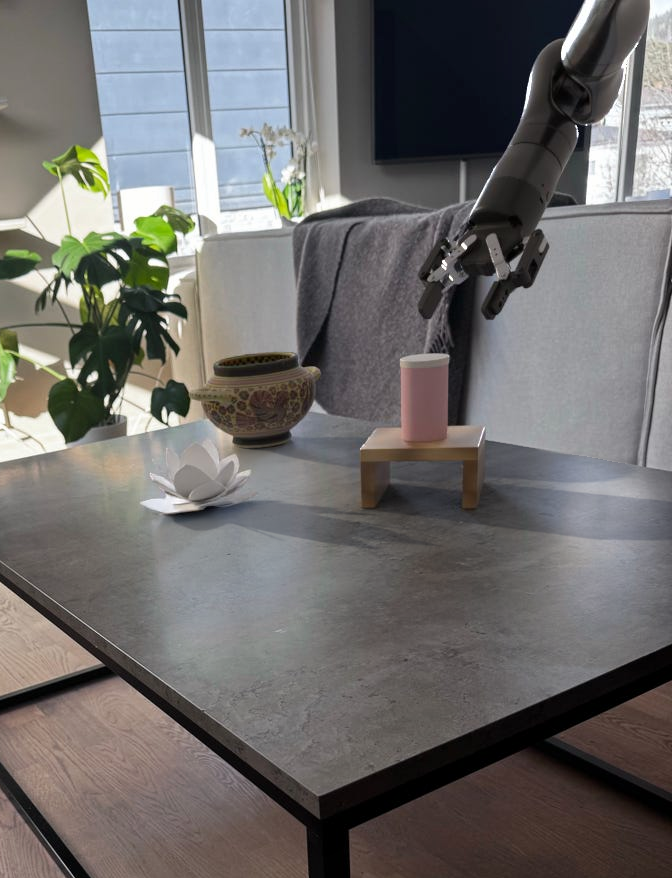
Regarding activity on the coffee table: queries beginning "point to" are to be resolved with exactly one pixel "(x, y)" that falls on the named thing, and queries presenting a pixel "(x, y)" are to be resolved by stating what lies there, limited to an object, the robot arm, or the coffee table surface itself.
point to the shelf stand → (423, 459)
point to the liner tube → (424, 397)
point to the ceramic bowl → (258, 397)
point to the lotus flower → (199, 480)
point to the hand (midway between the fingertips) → (454, 315)
